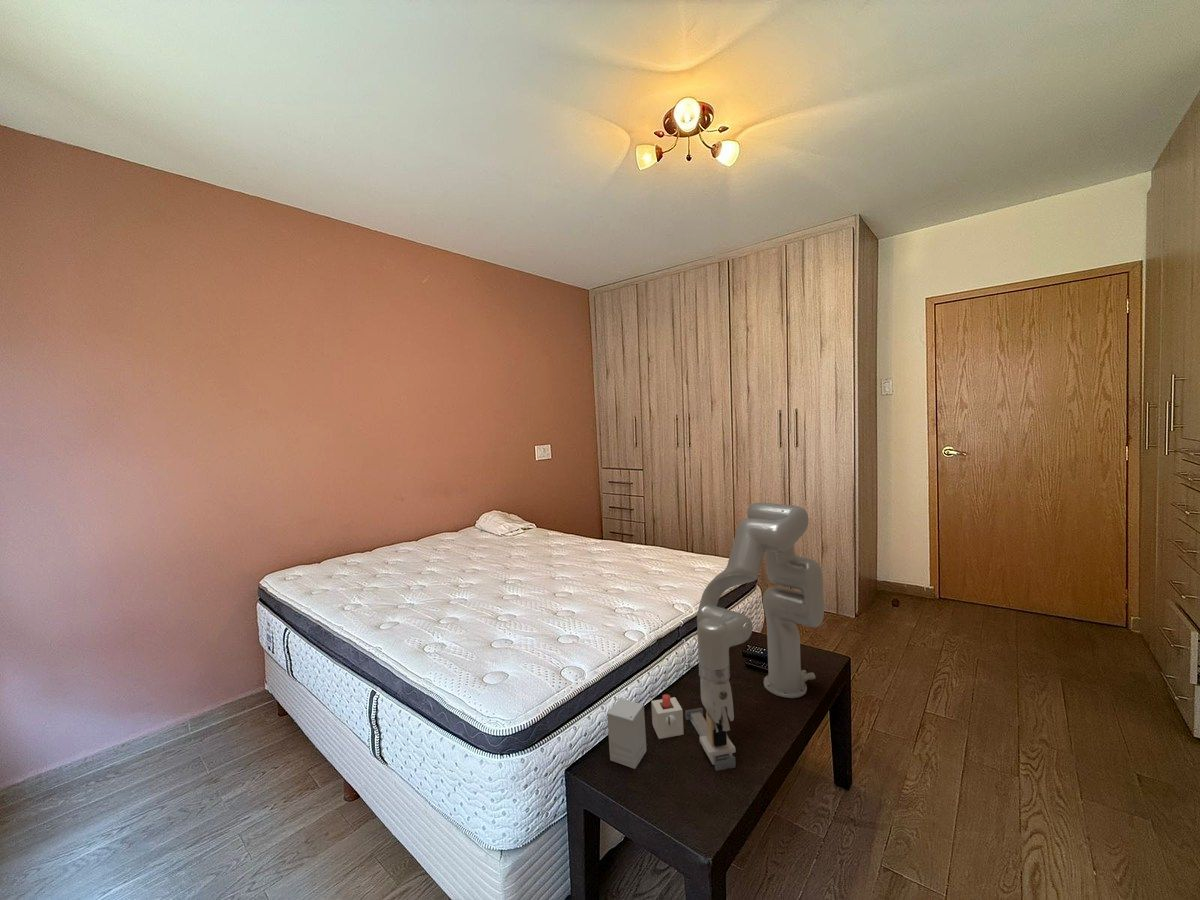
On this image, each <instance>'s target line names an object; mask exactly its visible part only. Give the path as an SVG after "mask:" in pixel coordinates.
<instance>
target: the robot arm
mask: <svg viewBox="0 0 1200 900" xmlns="http://www.w3.org/2000/svg"><path fill="white" fill-rule="evenodd" d="M746 512H747V518H746V519H742V520H741V521H740V522H739V523H738V525H737V528H736V532H735V535H734V539H733V543H732V547H731V550H730V553H729V558H728V561H727V565H726V567H725V569H724V570H722V571H721V572H720V573H718V574H717V575H716V576H715V577H714V578H713V579H711V581H710V582H709V583H708V584H707V585H706V587H705V588H704V591H703V592H702V595H701V598H700V600H699V601H700V602H699V605H698V609H697V614H696V624H697V626H696V627H697V629H696V631H697V632H696V633H697V653H698V654H697V656H698V676H699V677H700V681H699V682H700V686H699V687H700V699H701V703H702V705H703V707H704V709H705V714H706V713H709V714H710V716H711V717H712V719H713V720H714V728H715V730H713V737H714V746H715V747H718V746H723V745H726V744H727V739H726V731H727V732H728V731H731V728H730V722H734V720H735V716H734V715H735V714H734V701H733V692H732V686H731V682H730V680H729V679H730V677H731V676H730V675H731V673H730V672H731V670H730V651H729V650H730V648H731V647H735V646H738V645H741V644H743V643H745V642H746V641H748V640H749V638H750V637H751V635H752V633H753V628H754V627H753V623H752V620H751V618H750V617H748V616H747V615H745V614H743V613H741V612H737V611H734V610H730V609H727V608H724V607H720V606H717V605H718V604H719V600H720V598H721V596H722V595H723V594H724V593H725V592H726V591H728V590H729V589H731V588H733V587H736V586H739V585H743V584H749V583H753V582H755V581H757V579H758V578H759V575H760V571H761V568H762V567H761V566H762V562H763V558H764V556H765V570H766V571H765V572H766V576H767V579H768V580H769V581H770V582H771V583H773V584H775V585H778V586H771V587H768V588H767V589H766V590H765V591H764V592H763V595H762V606H763V611H764V615H765V621H766V636H767V637H766V638H767V641H766V642H767V664H768V665H767V666H768V667H767V668H768V674H767V675H766V676H765V677H763V686H764V688H765V689H766V690H767V691H768V692H769V693H771V694H772V695H775V696H778V697H781V698H788V699H795V698H797V699H798V698H800V697H803V696H804V695H806V694H807V691H808V687H807V684H806V682H807V681H808V680H809V681H811V680H815V679H816V675H815V673H814V672H807V670H805V669H802V667H801V665H802V663H801V634H800V631H799V628H798V626H797V625H798V624H799V625H802V626H806V627H809V628H810V627H811V628H817V627H819V626H821V624H822V623H823V621H824V615H825V601H824V599H825V597H824V596H825V595H824V577H823V571H822V567H821V566H820V564H819V562H817V561H816V560H814V559H813V558H809V557H803V556H797V554H796V553H795V544H796V543H797V542H798V541H799V540H800V539H801V537H803V536H804V534H805V532H806V531H807V530H808V525H809V523H810V522H809V521H810V519H809V514H808V512H807V510H806V509H805V508H803V507H802V506H800V505H799V506H798V505H794V504H793V505H792V504H782V503H781V504H780V503H773V502H754V503H752V504H751V503H750V505H749V506H748V507H747V511H746ZM787 587H788V588H787ZM791 588H792V589H791ZM719 722H722V724H721V725H719V726H718V723H719Z"/></svg>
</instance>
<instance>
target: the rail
mask: <svg viewBox="0 0 1200 900" xmlns="http://www.w3.org/2000/svg"><path fill="white" fill-rule="evenodd" d="M685 720H686V721H689V720H690V722H691V724H692V725H693V727H694V729H695V730H696V732H697V733H698V735H699V737H700V736H706V735H707V722H706V718H705V717H704V708H703V707H698V708H692V709H691V708H690V709H686V710H685ZM733 768H737V767H736V757H735V755H732V756H729V755H728V754H724V755H719V756H716V759H715V765H714V769H715V771H716V772H718V771H724V770H729V769H733Z"/></svg>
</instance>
